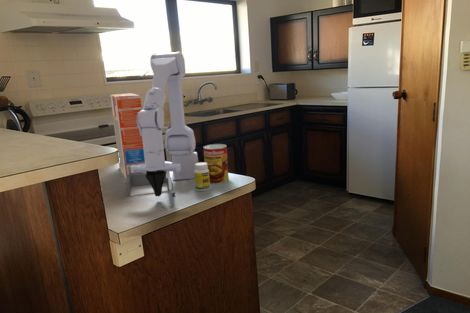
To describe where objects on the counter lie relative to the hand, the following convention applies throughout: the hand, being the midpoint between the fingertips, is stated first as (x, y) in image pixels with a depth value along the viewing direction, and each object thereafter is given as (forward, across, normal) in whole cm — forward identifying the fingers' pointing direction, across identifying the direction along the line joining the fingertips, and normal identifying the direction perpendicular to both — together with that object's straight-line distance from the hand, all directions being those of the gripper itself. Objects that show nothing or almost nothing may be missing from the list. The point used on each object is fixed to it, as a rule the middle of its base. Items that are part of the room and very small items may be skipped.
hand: (158, 195), depth 112 cm
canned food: (+2, +15, +20) cm, 25 cm away
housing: (+2, -6, +11) cm, 13 cm away
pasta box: (+2, -20, +34) cm, 40 cm away
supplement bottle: (+2, +12, +10) cm, 16 cm away
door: (+1, +4, +1) cm, 4 cm away
